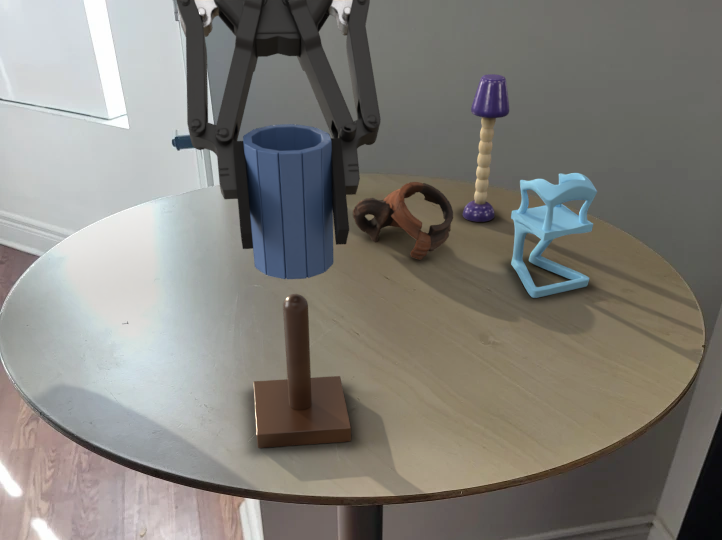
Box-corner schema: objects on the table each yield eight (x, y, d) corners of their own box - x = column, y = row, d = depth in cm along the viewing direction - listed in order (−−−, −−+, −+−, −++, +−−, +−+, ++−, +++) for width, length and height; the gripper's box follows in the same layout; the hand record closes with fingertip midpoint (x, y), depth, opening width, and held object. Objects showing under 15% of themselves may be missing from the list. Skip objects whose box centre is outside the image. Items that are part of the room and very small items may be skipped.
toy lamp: (453, 212, 104) (466, 74, 93) (480, 205, 106) (496, 69, 94) (475, 225, 101) (491, 84, 90) (503, 217, 103) (522, 79, 92)
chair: (547, 256, 95) (566, 154, 87) (589, 286, 89) (613, 180, 81) (494, 267, 92) (508, 163, 84) (533, 298, 87) (552, 191, 79)
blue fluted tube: (255, 281, 57) (244, 154, 51) (252, 245, 61) (242, 125, 55) (337, 277, 58) (335, 151, 52) (328, 242, 62) (325, 122, 56)
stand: (258, 448, 66) (245, 323, 58) (254, 394, 72) (242, 274, 64) (351, 441, 67) (351, 318, 59) (340, 388, 73) (339, 269, 65)
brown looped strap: (421, 225, 102) (450, 179, 95) (435, 284, 98) (467, 241, 92) (336, 212, 96) (361, 162, 90) (349, 274, 93) (375, 228, 86)
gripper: (390, -41, 60) (418, 252, 60) (139, -41, 58) (165, 264, 57) (405, -122, 53) (437, 212, 52) (118, -125, 50) (148, 224, 50)
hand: (295, 239), depth 55 cm, fingers closed on blue fluted tube, 6 cm apart
